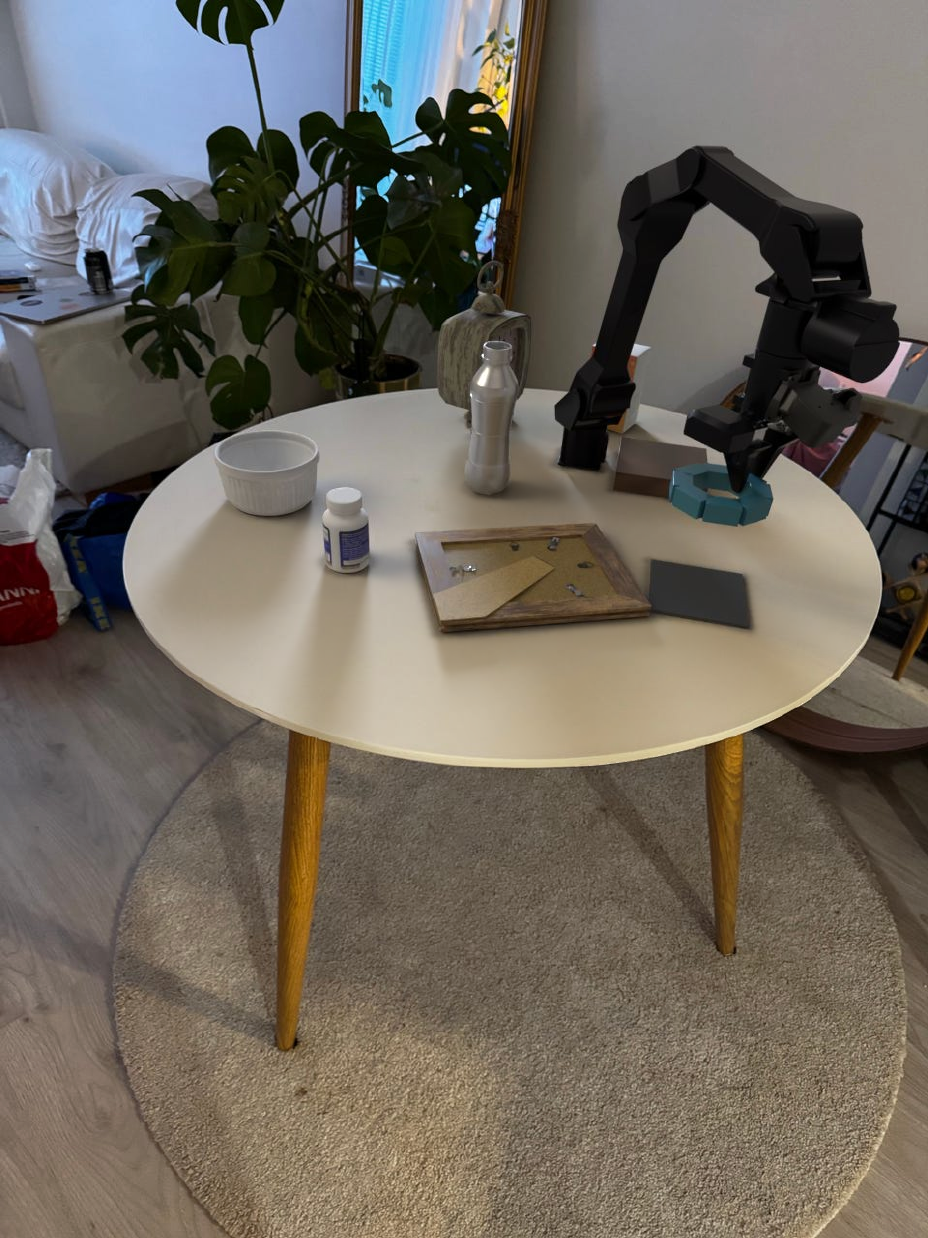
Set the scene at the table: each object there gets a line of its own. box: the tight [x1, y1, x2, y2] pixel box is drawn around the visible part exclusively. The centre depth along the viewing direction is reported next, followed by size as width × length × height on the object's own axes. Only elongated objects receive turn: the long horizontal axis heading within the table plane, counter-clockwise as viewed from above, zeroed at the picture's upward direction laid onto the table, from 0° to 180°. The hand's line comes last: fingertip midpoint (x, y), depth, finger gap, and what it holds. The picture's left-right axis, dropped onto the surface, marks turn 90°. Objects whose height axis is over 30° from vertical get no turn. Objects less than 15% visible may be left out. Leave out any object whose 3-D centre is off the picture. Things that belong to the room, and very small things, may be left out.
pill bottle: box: [321, 486, 371, 574], centre depth 87 cm, size 5×5×9 cm
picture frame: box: [414, 522, 651, 633], centre depth 89 cm, size 19×2×24 cm
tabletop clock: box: [436, 260, 532, 436], centre depth 119 cm, size 14×9×25 cm, turn 147°
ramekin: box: [213, 429, 320, 517], centre depth 99 cm, size 13×13×7 cm
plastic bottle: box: [463, 341, 519, 495], centre depth 101 cm, size 6×7×20 cm
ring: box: [668, 462, 774, 528], centre depth 84 cm, size 11×11×2 cm
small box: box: [589, 343, 652, 435], centre depth 125 cm, size 8×6×13 cm
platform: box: [612, 436, 709, 500], centre depth 112 cm, size 13×13×3 cm
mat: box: [648, 558, 750, 630], centre depth 88 cm, size 11×11×1 cm
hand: (743, 489), depth 86 cm, fingers closed on ring, 2 cm apart
